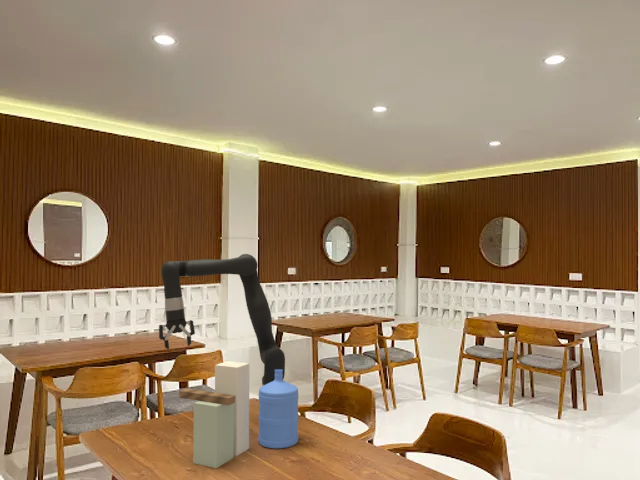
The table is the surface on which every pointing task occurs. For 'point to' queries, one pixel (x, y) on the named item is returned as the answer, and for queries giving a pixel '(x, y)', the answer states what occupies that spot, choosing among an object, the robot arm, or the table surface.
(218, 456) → the sage step
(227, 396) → the walnut plank
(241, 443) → the off-white stand
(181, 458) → the table surface
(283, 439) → the water jug
